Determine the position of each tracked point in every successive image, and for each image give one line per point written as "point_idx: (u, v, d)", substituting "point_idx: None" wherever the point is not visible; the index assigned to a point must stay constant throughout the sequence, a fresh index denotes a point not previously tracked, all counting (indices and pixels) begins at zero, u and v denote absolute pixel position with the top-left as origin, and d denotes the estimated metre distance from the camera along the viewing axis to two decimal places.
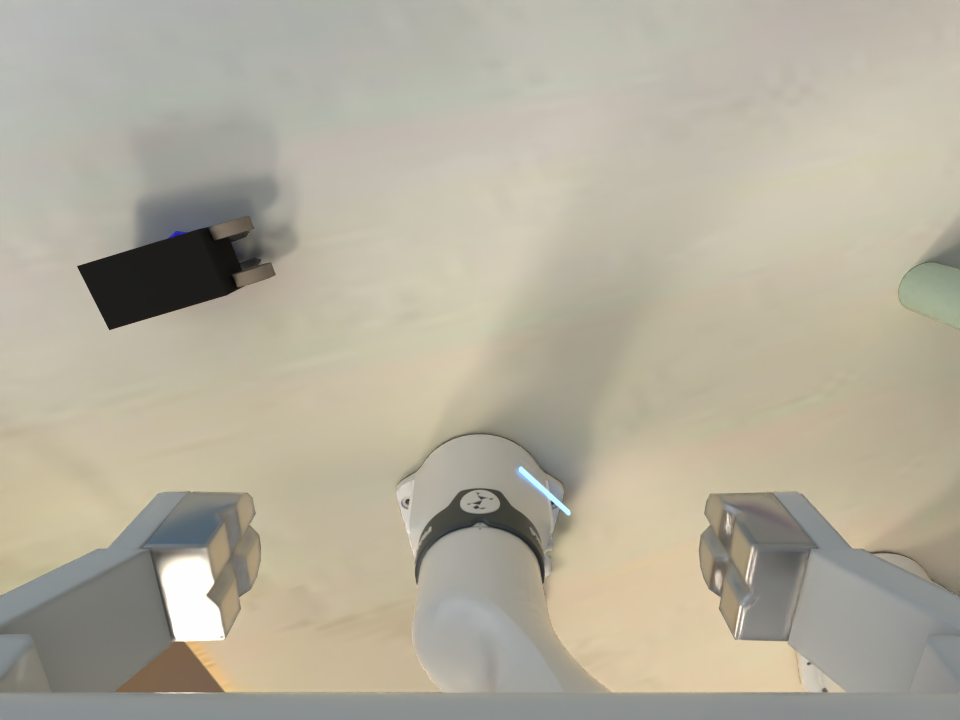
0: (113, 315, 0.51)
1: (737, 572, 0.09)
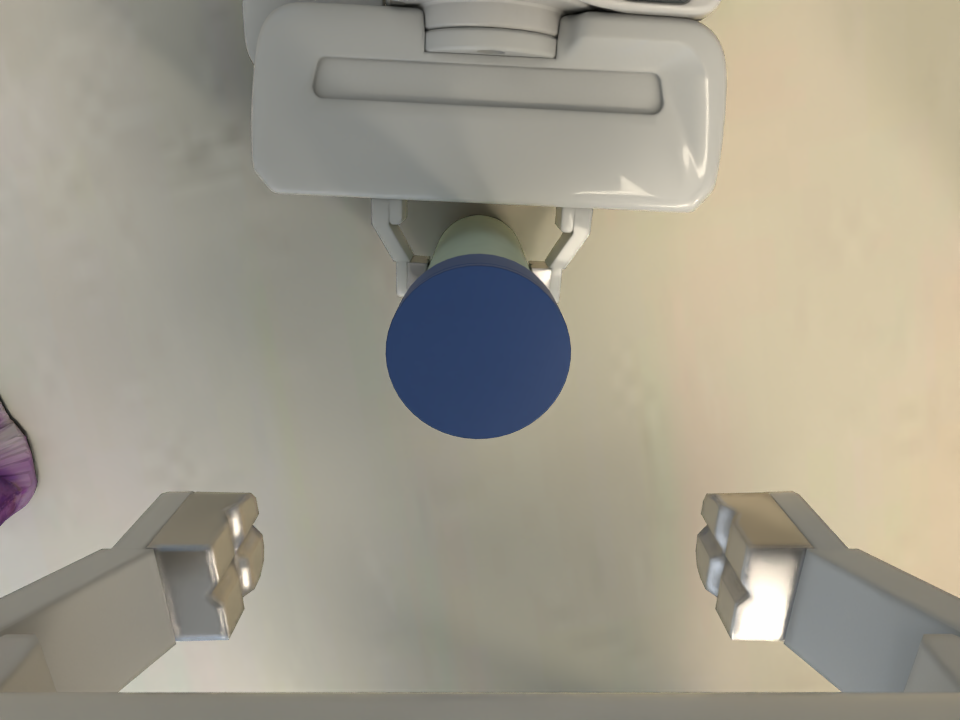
0: None
1: (733, 572, 0.09)
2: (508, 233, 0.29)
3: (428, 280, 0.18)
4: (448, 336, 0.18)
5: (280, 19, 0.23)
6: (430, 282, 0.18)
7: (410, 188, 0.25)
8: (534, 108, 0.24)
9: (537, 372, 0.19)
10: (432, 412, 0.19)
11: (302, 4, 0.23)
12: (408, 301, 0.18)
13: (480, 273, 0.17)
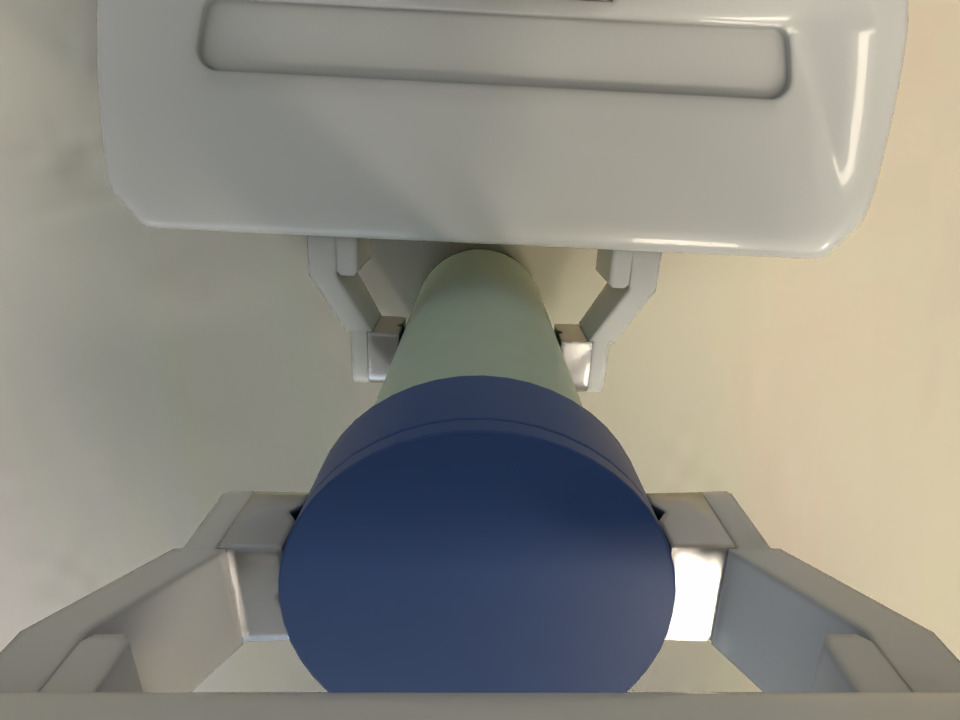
0: None
1: None
2: (523, 281, 0.20)
3: (363, 461, 0.08)
4: (411, 569, 0.08)
5: None
6: (368, 465, 0.08)
7: (367, 220, 0.15)
8: (572, 88, 0.14)
9: (602, 634, 0.09)
10: None
11: None
12: (321, 502, 0.08)
13: (481, 447, 0.08)
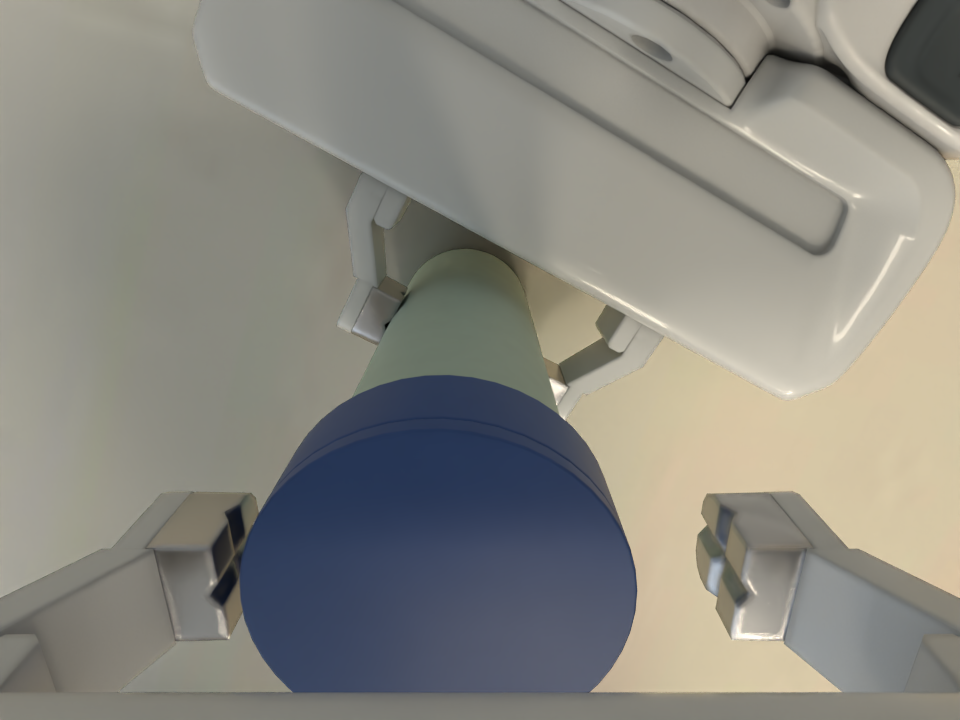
0: None
1: (734, 572, 0.09)
2: (526, 304, 0.20)
3: (241, 568, 0.08)
4: (361, 615, 0.09)
5: None
6: (247, 568, 0.08)
7: (429, 187, 0.15)
8: (662, 163, 0.15)
9: (557, 554, 0.08)
10: None
11: None
12: (251, 616, 0.09)
13: (299, 493, 0.08)
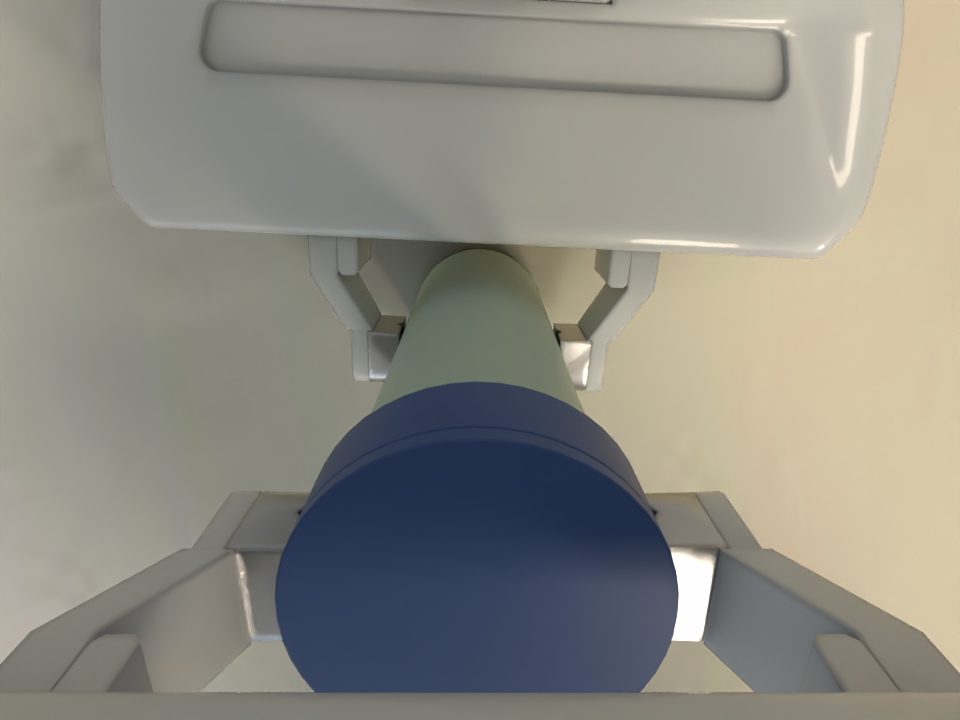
0: None
1: None
2: (523, 281, 0.20)
3: (286, 648, 0.09)
4: (412, 651, 0.09)
5: None
6: (291, 646, 0.09)
7: (368, 220, 0.16)
8: (572, 90, 0.15)
9: (560, 526, 0.08)
10: None
11: None
12: (319, 687, 0.09)
13: (296, 564, 0.08)
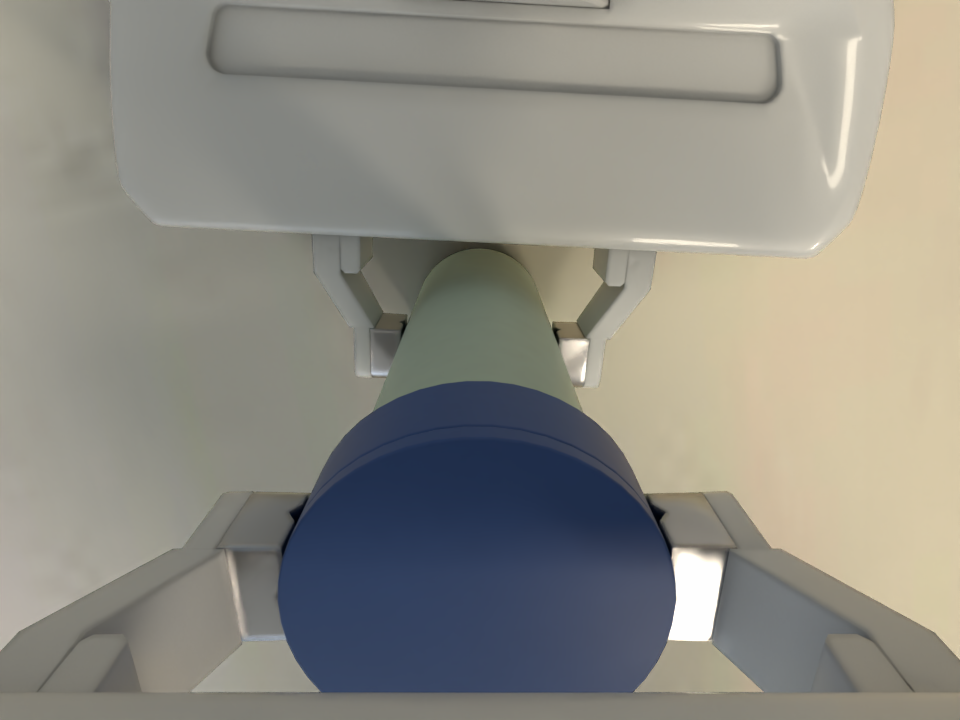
0: None
1: None
2: (522, 280, 0.20)
3: None
4: (494, 671, 0.09)
5: None
6: None
7: (370, 219, 0.16)
8: (570, 92, 0.15)
9: (395, 523, 0.08)
10: (642, 587, 0.08)
11: None
12: None
13: None
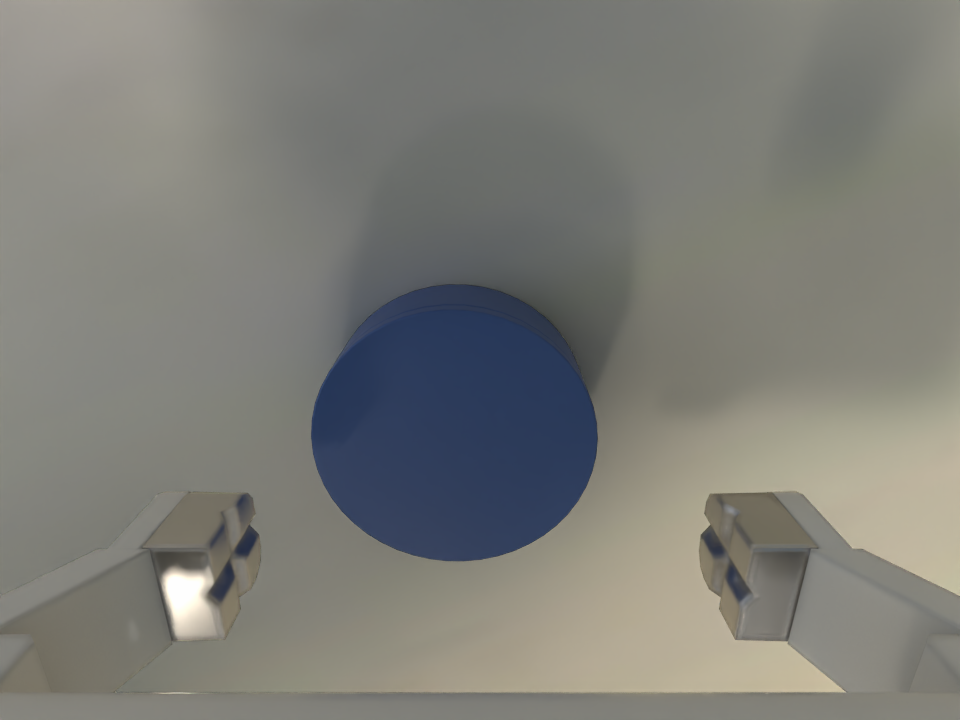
0: None
1: (737, 572, 0.09)
2: None
3: (436, 559, 0.13)
4: (468, 494, 0.12)
5: None
6: (436, 556, 0.13)
7: None
8: None
9: (395, 375, 0.11)
10: (572, 425, 0.12)
11: None
12: (477, 555, 0.13)
13: (374, 528, 0.13)
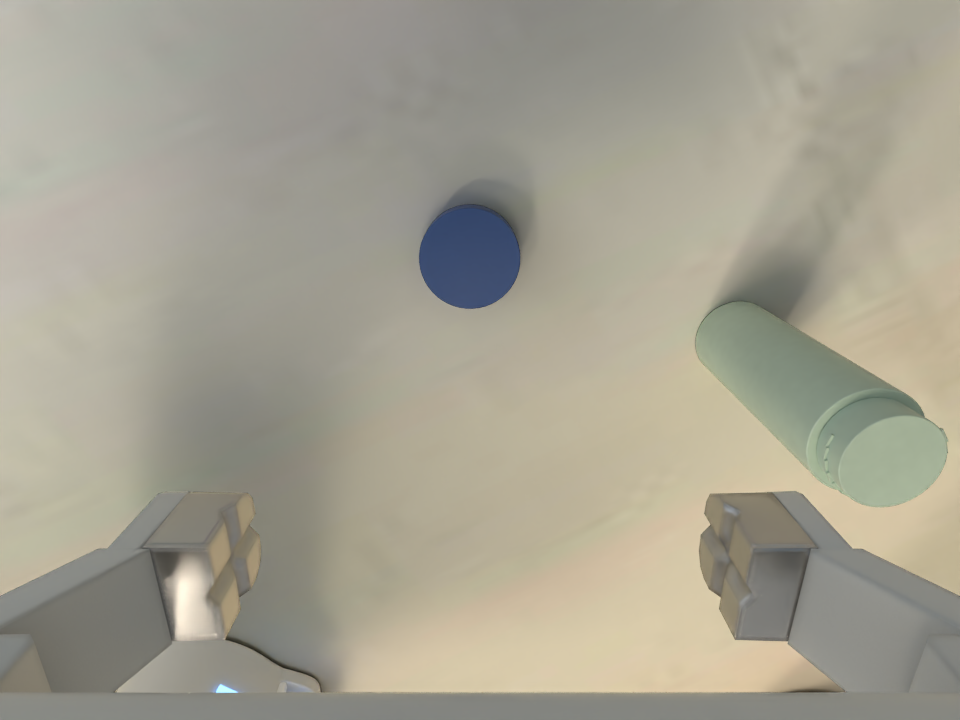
0: None
1: (737, 572, 0.09)
2: None
3: (462, 307, 0.35)
4: (474, 279, 0.34)
5: None
6: (462, 306, 0.35)
7: None
8: None
9: (450, 231, 0.33)
10: (511, 251, 0.33)
11: None
12: (477, 306, 0.35)
13: (439, 293, 0.34)
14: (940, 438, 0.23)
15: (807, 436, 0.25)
